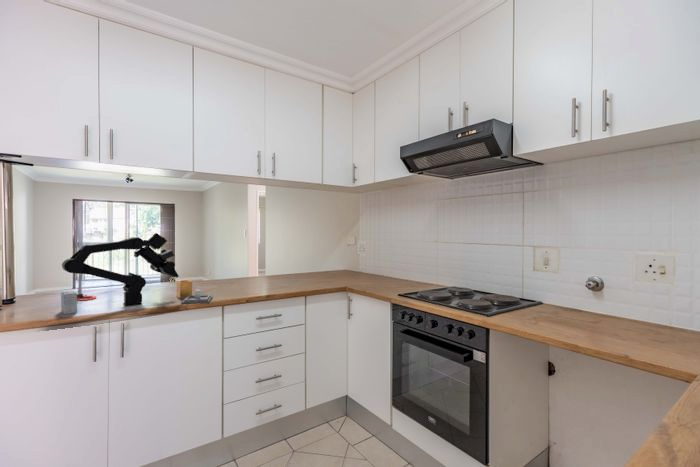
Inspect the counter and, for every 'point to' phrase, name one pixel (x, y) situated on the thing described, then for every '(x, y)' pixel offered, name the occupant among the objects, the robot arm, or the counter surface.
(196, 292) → the post plate
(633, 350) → the counter surface
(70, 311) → the medicine box
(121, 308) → the counter surface
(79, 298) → the tow hook
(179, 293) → the orange wooden block
